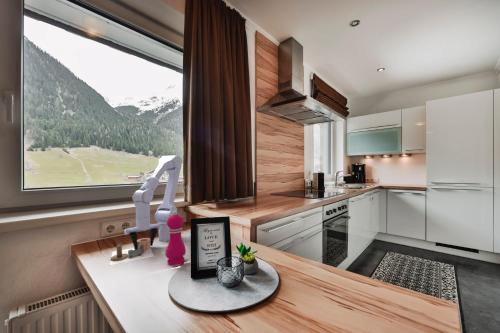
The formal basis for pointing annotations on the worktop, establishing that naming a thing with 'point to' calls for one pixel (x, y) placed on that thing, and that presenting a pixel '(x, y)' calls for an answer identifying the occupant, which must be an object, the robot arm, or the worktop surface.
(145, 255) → the board
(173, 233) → the pepper mill
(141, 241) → the ring
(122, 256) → the peg
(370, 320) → the worktop surface
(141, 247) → the grey mechanical part
